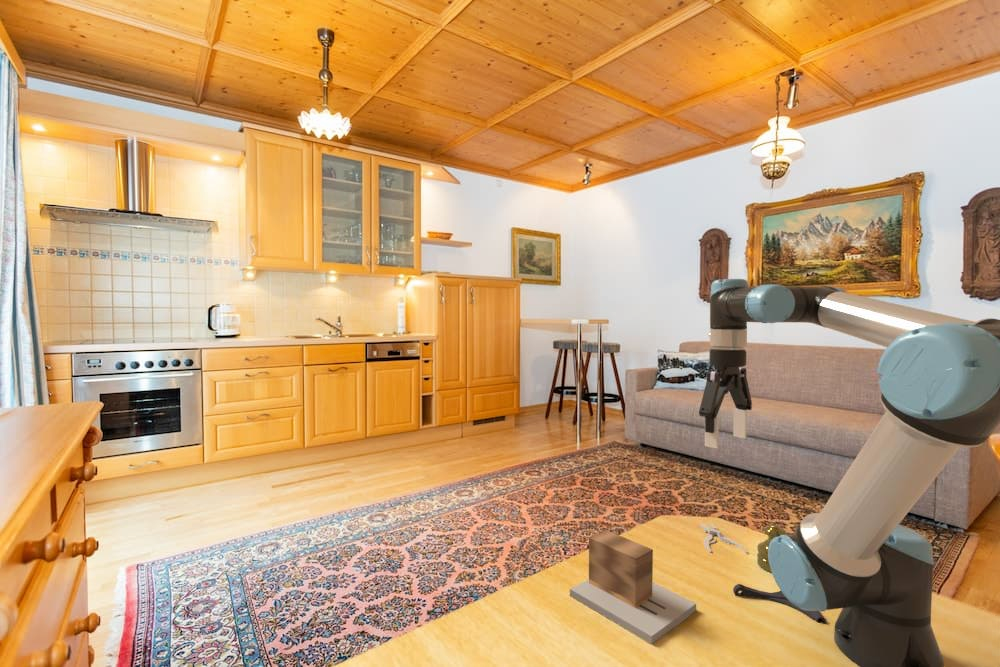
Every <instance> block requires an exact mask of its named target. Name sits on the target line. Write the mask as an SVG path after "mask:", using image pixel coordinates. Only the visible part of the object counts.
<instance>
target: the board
mask: <svg viewBox="0 0 1000 667" xmlns="http://www.w3.org/2000/svg"><path fill="white" fill-rule="evenodd" d="M569 596H570V597H571V596H572V597H571V598H573V599H575V600H577V602H580V603H582V605H585V606H586V607H588V608H589V609H592V610H594V611H595V612H597V613H598V614H600V615H602V616H603V617H605V618H606V619H608V620H609V621H612V622H614V623H615V624H616V625H618V626H620V627H621V628H623V629H624V630H627V631H629V632H630V633H632V634H633V635H635V636H637V637H638V638H640V639H642V640H643V641H645V642H647V643H649V644H650V645H652V644H653V645H654V643H655V642H657V641H658V640H659V639H660V638H662V637H663V636H664V635H666V634H667V633H668V632H670V631H671V630H672V629H673V628H675V627H677V626H678V625H679V624H681V623H682V622H683V621H685V620H686V619H687V618H688V617H690V616H691V615H693V614H694V613H695V612H696V611H697V602H694V601H692V600H690V599H687V598H686V597H684V596H683V595H679V594H677V593H675V592H673V591H671V590H670V589H667V588H665V587H663V586H661V585H659V584H657V583H655V582H653V581H652V597H651V598H649V599H648V600H646V601H645V602H643V603H642V604H640V605H639V606H637V607H636V608H635V607H633V606H631V605H630V604H628V603H626V602H624V601H622V600H620V599H618V598H617V597H615V596H613V595H611V594H609V593H607V592H606V591H604V590H602V589H600V588H598V587H596V586H594V585H593V584H591V583H589V578H588V579H586V580H584V581H582V582H580V583H578V584H576V585H574V586H572V587H571V588H569Z"/></svg>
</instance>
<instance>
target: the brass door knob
mask: <svg viewBox="0 0 1000 667" xmlns="http://www.w3.org/2000/svg"><path fill="white" fill-rule="evenodd" d="M762 531H763V533H765V534H767V536H768V538H767V539H766V540H764V541H760V543H758V544H757V546H756V548H757V551H758V553H757V554H756V555H757V560H756V561H757V562H756V563H757V565H758V567H760V568H761V569H762V568H763V569H762V570H764V571H767V572H769V573H772V572H771V568H770V564H769V560H768V548H769V544H770V542H771V540H772V539H773V538H775V537H779V536H781V535H787V536H788V531H786V529H784V528H783V527H780V526H779V525H777V524H771V525H769V524H768V525H766V526H764V527H763V530H762Z"/></svg>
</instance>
